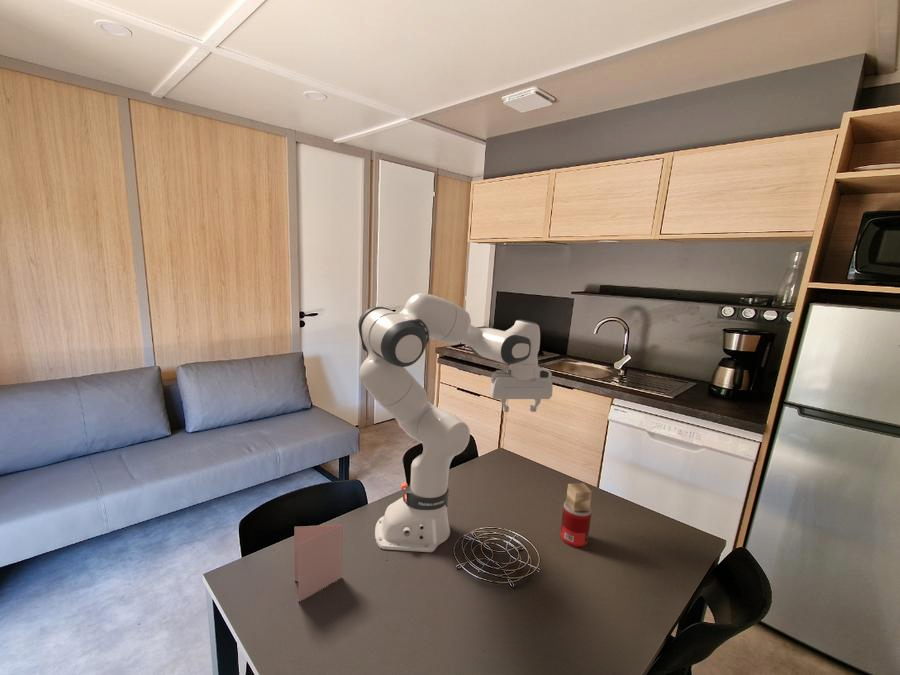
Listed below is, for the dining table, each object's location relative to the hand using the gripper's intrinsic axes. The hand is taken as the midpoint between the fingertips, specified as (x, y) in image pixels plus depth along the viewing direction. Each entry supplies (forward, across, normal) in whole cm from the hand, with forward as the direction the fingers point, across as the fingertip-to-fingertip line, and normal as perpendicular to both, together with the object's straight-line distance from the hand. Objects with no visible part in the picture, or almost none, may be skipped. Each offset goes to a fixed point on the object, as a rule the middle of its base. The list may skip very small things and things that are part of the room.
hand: (519, 411), depth 129 cm
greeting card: (+34, -59, -29) cm, 74 cm away
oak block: (+23, +14, -18) cm, 32 cm away
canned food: (+34, +14, -18) cm, 41 cm away
